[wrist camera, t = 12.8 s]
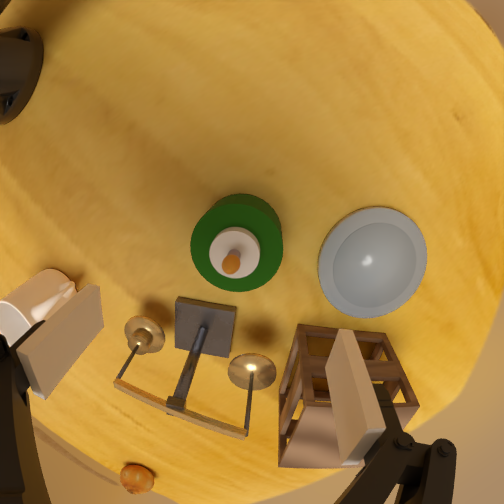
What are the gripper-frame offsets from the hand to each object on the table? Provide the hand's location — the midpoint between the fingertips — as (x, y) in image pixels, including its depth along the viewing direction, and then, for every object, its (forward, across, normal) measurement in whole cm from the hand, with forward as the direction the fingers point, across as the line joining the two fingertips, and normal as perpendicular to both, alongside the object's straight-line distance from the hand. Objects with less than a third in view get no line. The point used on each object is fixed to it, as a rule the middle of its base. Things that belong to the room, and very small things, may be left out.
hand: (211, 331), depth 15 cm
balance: (+18, -3, -12) cm, 22 cm away
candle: (+18, 0, 0) cm, 18 cm away
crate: (+18, +14, -16) cm, 27 cm away
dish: (+18, +15, -1) cm, 23 cm away
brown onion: (+18, -17, -61) cm, 66 cm away
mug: (+18, -24, -12) cm, 32 cm away
